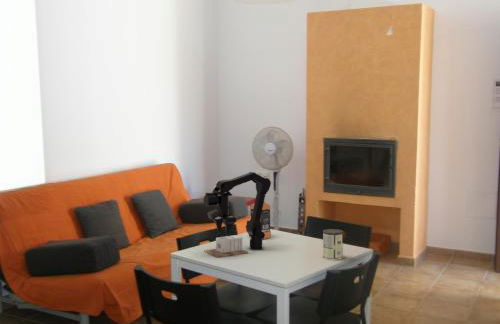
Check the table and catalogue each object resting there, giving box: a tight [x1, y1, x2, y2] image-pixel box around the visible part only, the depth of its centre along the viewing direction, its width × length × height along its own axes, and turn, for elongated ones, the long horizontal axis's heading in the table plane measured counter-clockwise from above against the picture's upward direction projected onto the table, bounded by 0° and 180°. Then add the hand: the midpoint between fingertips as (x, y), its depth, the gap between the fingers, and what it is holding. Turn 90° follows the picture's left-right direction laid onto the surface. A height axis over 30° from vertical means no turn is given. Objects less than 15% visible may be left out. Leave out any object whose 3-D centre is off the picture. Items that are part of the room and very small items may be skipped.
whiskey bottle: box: [248, 201, 272, 241], centre depth 326 cm, size 10×10×32 cm
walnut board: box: [204, 248, 249, 259], centre depth 290 cm, size 19×15×1 cm
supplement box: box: [215, 235, 244, 253], centre depth 291 cm, size 7×7×13 cm
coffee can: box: [322, 228, 344, 261], centre depth 280 cm, size 10×10×14 cm
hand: (223, 233), depth 288 cm, fingers open, 9 cm apart
